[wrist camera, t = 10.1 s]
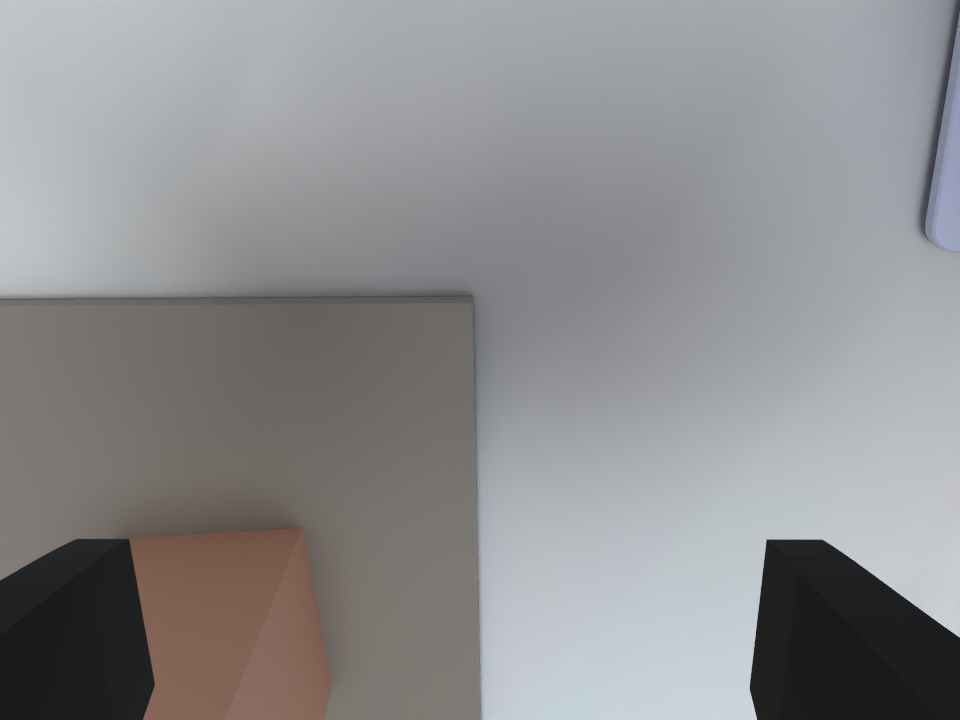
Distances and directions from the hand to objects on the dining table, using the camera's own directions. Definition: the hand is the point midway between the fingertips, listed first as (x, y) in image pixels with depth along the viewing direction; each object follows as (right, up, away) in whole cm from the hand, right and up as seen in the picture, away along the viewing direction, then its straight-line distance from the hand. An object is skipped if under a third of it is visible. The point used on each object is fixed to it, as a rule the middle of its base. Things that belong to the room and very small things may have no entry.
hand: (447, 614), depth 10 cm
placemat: (-6, -3, +11) cm, 13 cm away
